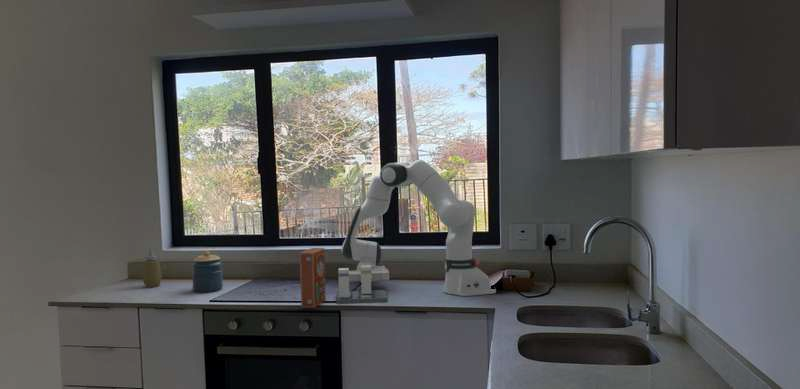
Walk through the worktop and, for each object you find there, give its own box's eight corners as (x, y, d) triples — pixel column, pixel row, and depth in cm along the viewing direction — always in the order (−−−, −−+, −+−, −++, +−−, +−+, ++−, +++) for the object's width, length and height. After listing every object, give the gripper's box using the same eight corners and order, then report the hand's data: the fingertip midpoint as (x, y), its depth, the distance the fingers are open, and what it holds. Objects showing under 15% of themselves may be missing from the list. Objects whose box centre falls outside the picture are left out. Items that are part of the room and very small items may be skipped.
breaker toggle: (371, 291, 203) (370, 265, 203) (371, 293, 199) (370, 267, 198) (361, 291, 203) (360, 265, 202) (361, 294, 199) (360, 267, 198)
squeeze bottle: (163, 286, 229) (162, 248, 228) (144, 289, 224) (142, 250, 224) (160, 283, 236) (159, 247, 235) (141, 286, 231) (140, 248, 230)
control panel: (328, 299, 199) (314, 309, 184) (312, 298, 200) (297, 308, 186) (327, 247, 198) (313, 253, 183) (311, 247, 200) (296, 252, 185)
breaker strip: (385, 293, 207) (384, 263, 207) (386, 301, 193) (386, 269, 193) (337, 295, 206) (336, 264, 205) (335, 303, 192) (334, 270, 191)
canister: (219, 285, 230) (218, 248, 230) (226, 290, 219) (225, 251, 219) (190, 289, 223) (188, 250, 222) (195, 294, 212) (194, 254, 212)
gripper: (342, 267, 219) (341, 272, 205) (388, 265, 221) (389, 271, 207) (343, 280, 219) (341, 287, 205) (388, 279, 221) (390, 285, 207)
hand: (366, 279), depth 206 cm, fingers closed
